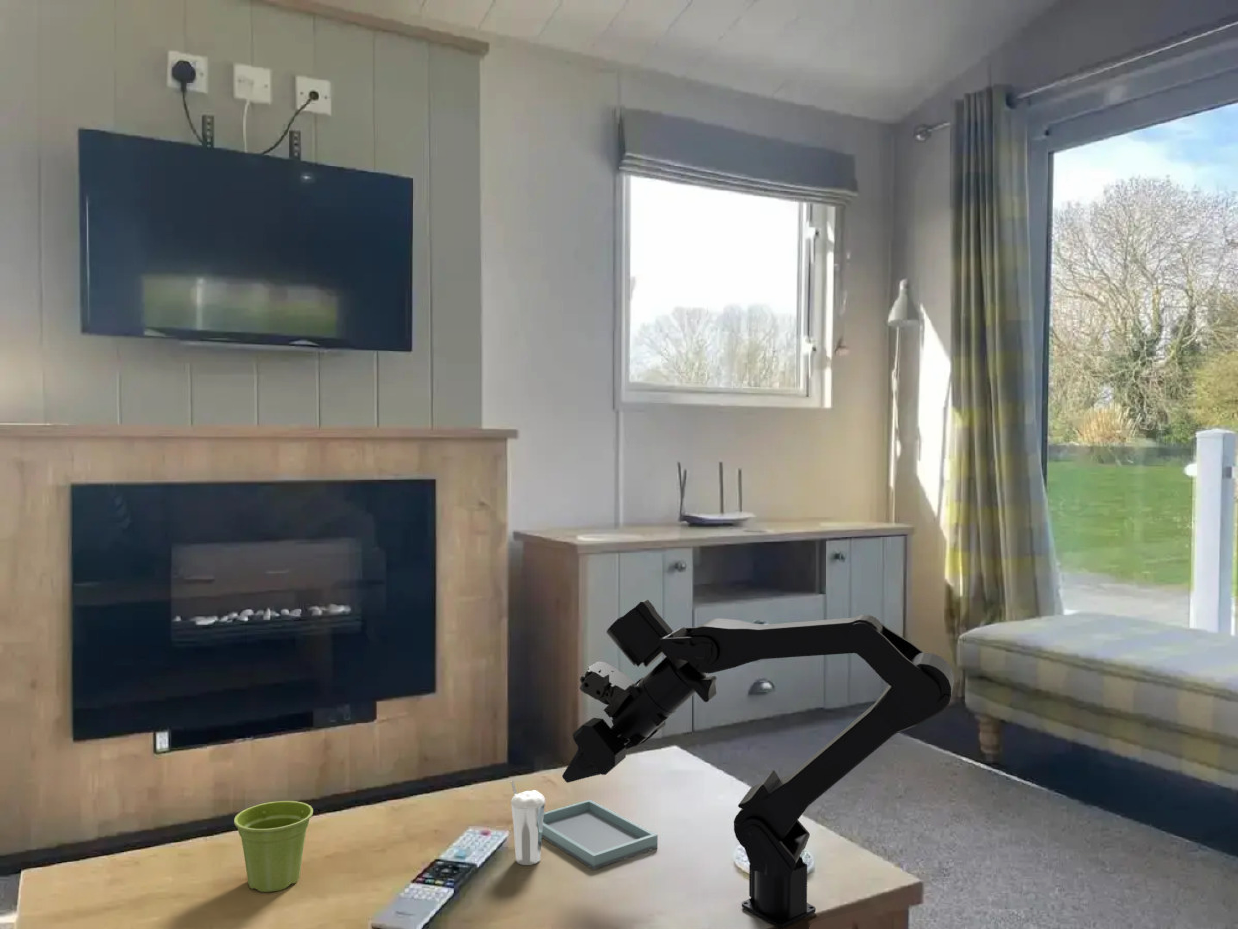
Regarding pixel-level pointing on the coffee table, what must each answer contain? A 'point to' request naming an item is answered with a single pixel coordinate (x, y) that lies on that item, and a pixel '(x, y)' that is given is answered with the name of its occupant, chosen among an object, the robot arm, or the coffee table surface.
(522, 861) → the milkshake
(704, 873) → the coffee table surface
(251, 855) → the plant pot
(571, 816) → the tray
